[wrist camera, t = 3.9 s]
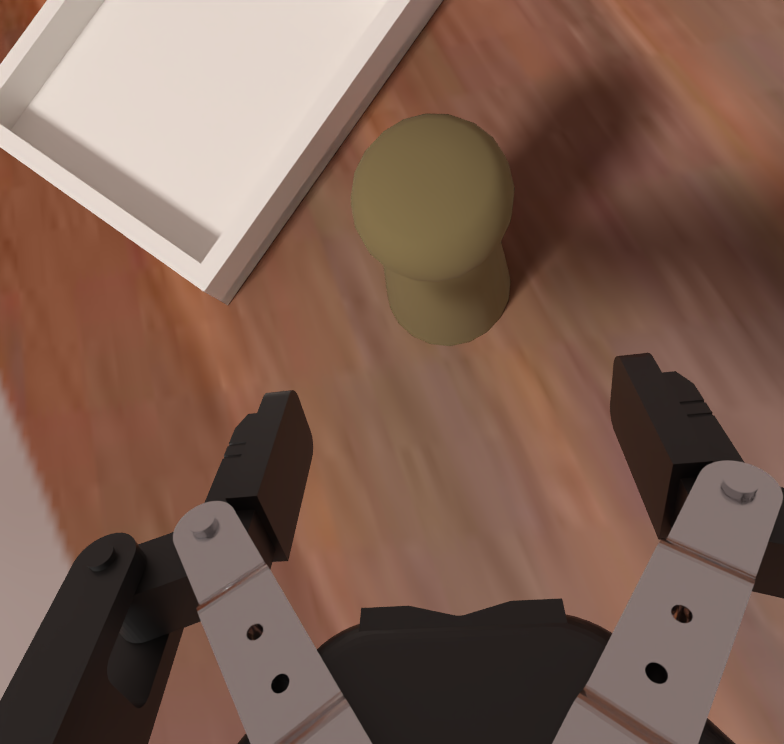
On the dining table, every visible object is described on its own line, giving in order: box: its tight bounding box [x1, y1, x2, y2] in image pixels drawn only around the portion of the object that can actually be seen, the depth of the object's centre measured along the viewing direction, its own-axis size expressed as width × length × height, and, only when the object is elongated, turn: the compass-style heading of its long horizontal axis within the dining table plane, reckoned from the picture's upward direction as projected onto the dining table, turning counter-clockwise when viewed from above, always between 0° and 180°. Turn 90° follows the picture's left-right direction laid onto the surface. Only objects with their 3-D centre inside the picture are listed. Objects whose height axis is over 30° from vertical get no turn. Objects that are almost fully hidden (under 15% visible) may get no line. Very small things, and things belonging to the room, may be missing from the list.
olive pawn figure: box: [351, 114, 515, 346], centre depth 21 cm, size 6×6×11 cm
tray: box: [0, 0, 443, 305], centre depth 29 cm, size 20×18×2 cm
